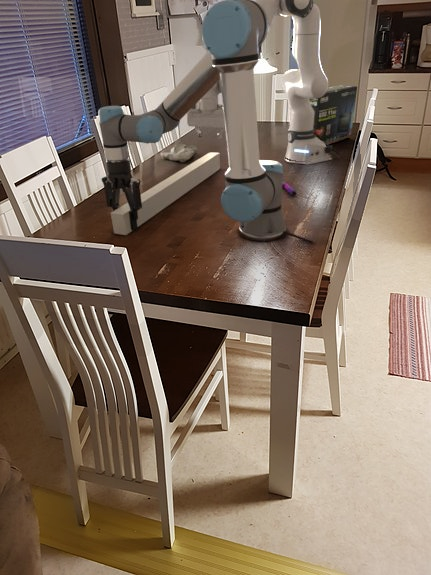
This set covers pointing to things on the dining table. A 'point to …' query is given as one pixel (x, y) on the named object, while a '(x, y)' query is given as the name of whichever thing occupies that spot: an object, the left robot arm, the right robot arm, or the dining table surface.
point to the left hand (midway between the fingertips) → (127, 227)
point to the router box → (334, 112)
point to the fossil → (179, 152)
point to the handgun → (288, 188)
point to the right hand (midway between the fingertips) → (209, 137)
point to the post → (166, 192)
